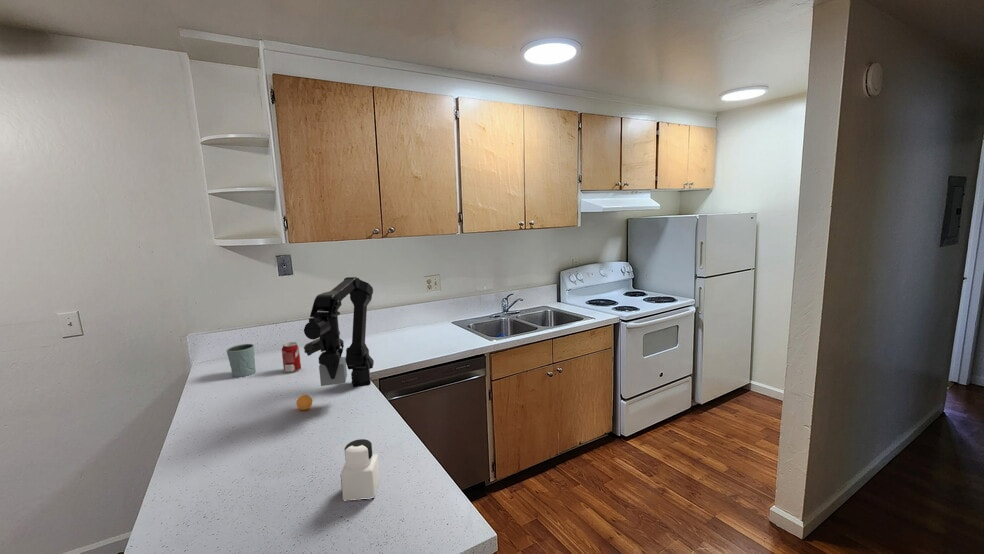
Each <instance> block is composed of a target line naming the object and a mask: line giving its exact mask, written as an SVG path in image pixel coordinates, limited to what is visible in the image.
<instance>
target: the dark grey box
mask: <svg viewBox="0 0 984 554" xmlns="http://www.w3.org/2000/svg"><path fill="white" fill-rule="evenodd" d="M345 358H346V356H341V357H340V362H339V365H338V369H337V372H336V376H335V379H331V378H330V375H329V372H328V370H327V368H326V366H324V365H321V364H319V365H318V370H319V379H320V386H321V387H324V386H325V387H326V386H333V385H341V384H346V380H347V377H348V371H347V370H348V369H347V364H346V359H345Z"/></svg>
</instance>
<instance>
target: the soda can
mask: <svg viewBox="0 0 984 554" xmlns="http://www.w3.org/2000/svg"><path fill="white" fill-rule="evenodd" d="M281 356H282V366H283V372H284V373H288V374H292V372H293V373H297V372H299V371H298V370H301V369H302V364H301V355H300V346H299V344H298V342H296V341H295V342H294V341H291V342H290V341H289V342H285V343H283V344H282V348H281ZM296 371H297V372H296Z"/></svg>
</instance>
